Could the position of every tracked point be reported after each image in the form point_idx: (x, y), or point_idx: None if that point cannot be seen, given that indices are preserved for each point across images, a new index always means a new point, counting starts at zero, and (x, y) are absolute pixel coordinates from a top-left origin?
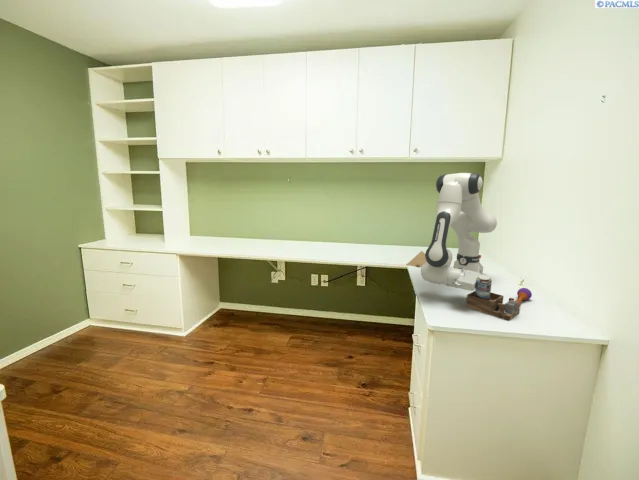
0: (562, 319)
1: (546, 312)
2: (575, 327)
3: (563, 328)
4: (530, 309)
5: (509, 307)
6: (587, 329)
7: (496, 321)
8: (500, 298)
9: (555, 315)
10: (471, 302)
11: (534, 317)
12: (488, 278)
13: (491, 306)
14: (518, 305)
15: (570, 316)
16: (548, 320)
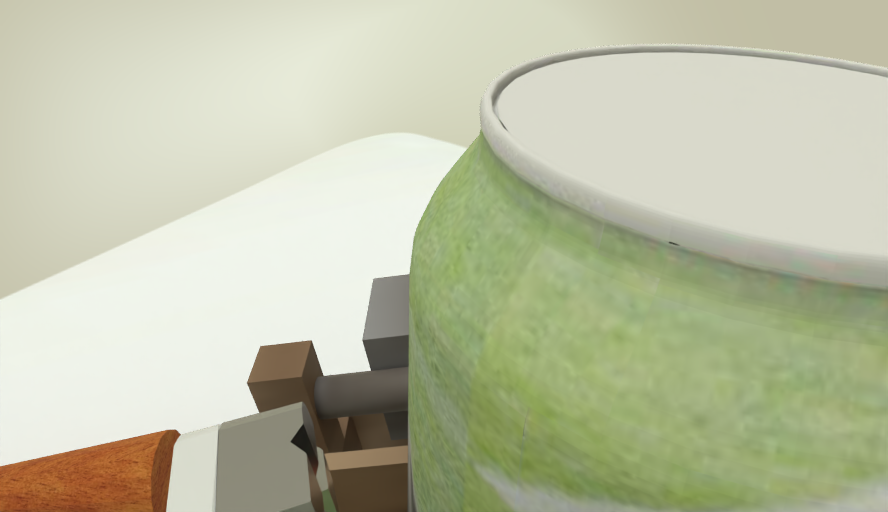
0: (223, 250)
1: (118, 332)
2: (329, 192)
3: (408, 203)
4: (106, 416)
5: None
6: (312, 170)
7: None
8: (363, 463)
9: (158, 288)
10: None
11: (332, 329)
12: (728, 61)
13: None
14: (177, 435)
15: (119, 251)
16: (320, 272)
